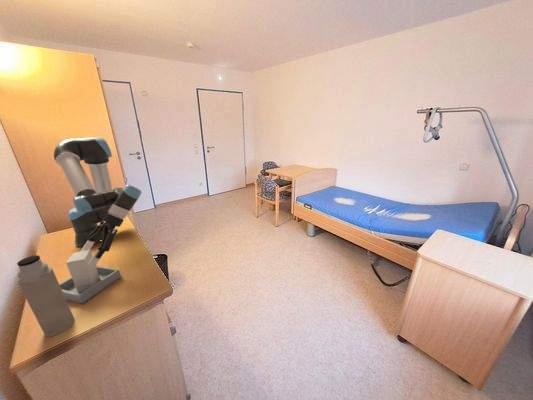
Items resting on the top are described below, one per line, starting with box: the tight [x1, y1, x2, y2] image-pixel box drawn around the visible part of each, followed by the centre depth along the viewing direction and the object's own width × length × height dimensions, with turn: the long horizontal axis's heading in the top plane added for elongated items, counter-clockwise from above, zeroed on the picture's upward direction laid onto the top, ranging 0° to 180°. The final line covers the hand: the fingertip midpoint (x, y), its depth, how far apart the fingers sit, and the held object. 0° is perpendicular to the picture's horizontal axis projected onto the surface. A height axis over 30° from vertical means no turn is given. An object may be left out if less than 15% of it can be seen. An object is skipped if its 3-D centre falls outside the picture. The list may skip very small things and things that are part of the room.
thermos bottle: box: [16, 255, 75, 337], centre depth 71 cm, size 8×8×28 cm
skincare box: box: [66, 249, 100, 293], centre depth 92 cm, size 8×7×16 cm
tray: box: [59, 264, 122, 306], centre depth 95 cm, size 17×17×4 cm
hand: (86, 259), depth 92 cm, fingers open, 13 cm apart
